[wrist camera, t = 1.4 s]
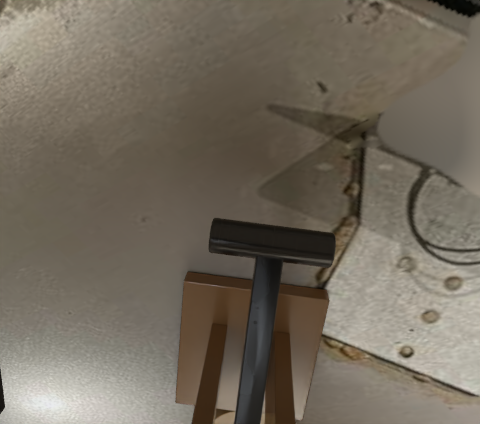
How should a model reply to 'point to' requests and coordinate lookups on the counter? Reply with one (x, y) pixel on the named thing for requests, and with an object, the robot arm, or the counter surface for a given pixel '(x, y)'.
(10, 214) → the counter surface
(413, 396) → the counter surface
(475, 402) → the counter surface
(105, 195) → the counter surface
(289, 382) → the lever bracket
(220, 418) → the lamp
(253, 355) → the black t-shaped bar
